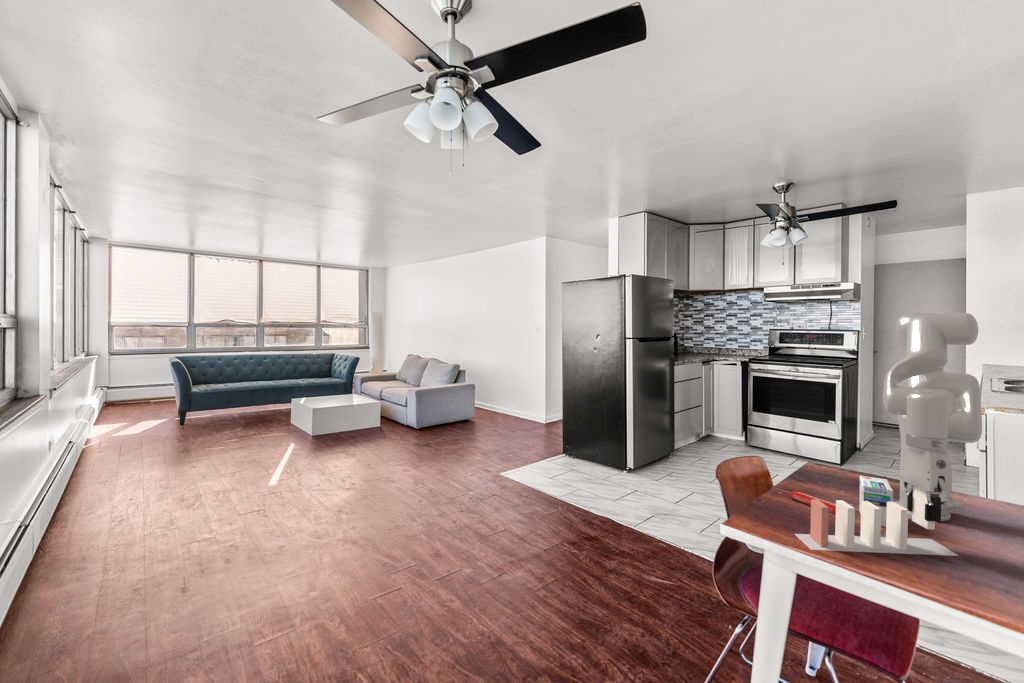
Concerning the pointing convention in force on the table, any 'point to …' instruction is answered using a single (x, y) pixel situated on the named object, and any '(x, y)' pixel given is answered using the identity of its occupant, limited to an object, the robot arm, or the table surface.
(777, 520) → the table surface
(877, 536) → the domino
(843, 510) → the domino
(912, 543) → the felt strip
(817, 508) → the domino
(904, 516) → the domino
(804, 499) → the candy bar
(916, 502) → the domino
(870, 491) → the light bulb box
